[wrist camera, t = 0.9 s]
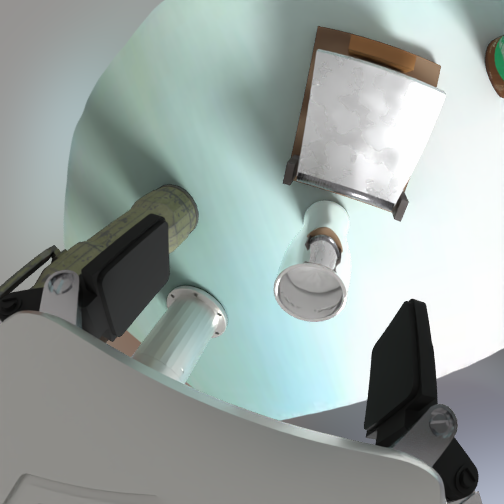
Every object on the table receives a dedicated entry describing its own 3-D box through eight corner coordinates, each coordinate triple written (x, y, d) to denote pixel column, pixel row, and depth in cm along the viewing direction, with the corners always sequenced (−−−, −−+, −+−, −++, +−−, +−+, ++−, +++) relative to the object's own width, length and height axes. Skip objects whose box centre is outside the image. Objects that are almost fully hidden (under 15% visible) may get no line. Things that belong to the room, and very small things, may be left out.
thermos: (185, 252, 47) (40, 425, 19) (137, 200, 45) (-34, 342, 17) (217, 223, 42) (44, 430, 14) (163, 165, 40) (-51, 318, 12)
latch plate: (394, 209, 33) (400, 230, 28) (288, 175, 35) (278, 190, 31) (437, 66, 22) (453, 63, 17) (319, 28, 24) (313, 16, 20)
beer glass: (294, 201, 37) (261, 266, 25) (347, 192, 34) (342, 256, 22) (307, 248, 40) (282, 325, 28) (357, 241, 37) (353, 321, 25)
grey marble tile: (391, 204, 29) (390, 214, 29) (298, 174, 31) (294, 183, 31) (442, 89, 17) (446, 96, 16) (319, 48, 19) (315, 52, 18)
